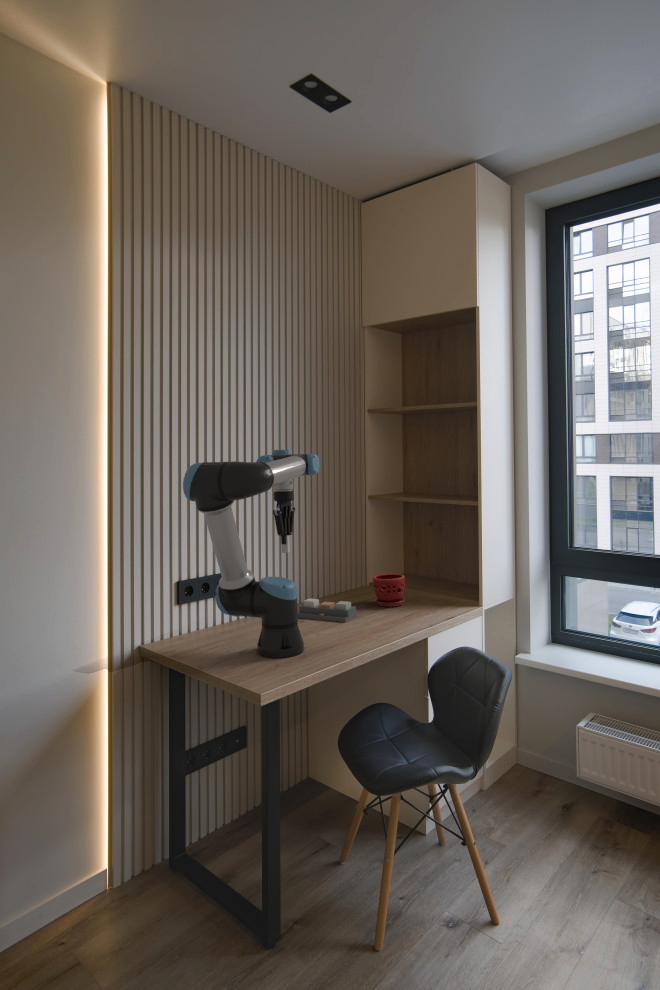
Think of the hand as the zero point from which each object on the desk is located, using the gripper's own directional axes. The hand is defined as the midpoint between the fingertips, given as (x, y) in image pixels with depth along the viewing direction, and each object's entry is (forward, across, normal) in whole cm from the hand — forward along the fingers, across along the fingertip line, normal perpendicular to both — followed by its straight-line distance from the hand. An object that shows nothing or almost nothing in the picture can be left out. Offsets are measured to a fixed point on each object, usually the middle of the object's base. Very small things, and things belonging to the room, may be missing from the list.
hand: (285, 552), depth 232 cm
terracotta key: (+24, +12, -11) cm, 29 cm away
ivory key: (+24, +12, -4) cm, 27 cm away
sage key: (+24, +12, -18) cm, 32 cm away
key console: (+26, +10, -11) cm, 30 cm away
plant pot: (+27, +37, -27) cm, 53 cm away
